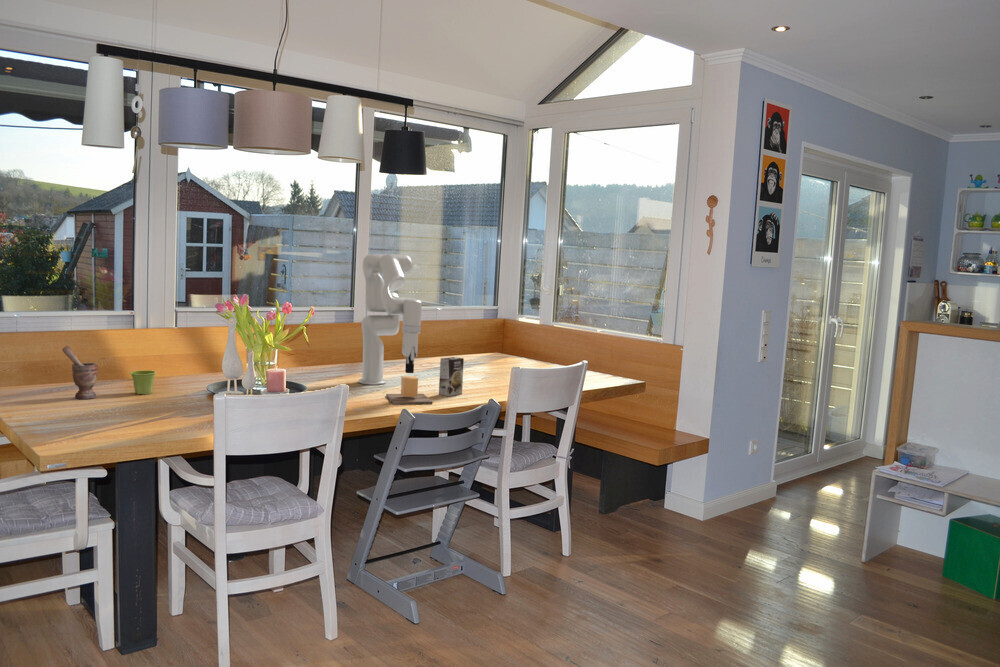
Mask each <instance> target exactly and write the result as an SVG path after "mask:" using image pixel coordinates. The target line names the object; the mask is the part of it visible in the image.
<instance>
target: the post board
mask: <svg viewBox="0 0 1000 667" xmlns="http://www.w3.org/2000/svg"><path fill="white" fill-rule="evenodd" d="M385 396H386V398H387V399H388V400H389V401H390V403H391V404H392V405H393V406H398V405H399V406H400V405H403V406H405V405H406V406H407V405H409V406H410V405H411V406H412V405H413V406H414V405H433V401H432V400H431V399H430V398H429V397H428V396H427V395H425V394H424V393H417V397H403V396H402V395H401V393H386V394H385Z"/></svg>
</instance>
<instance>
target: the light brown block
mask: <svg viewBox="0 0 1000 667" xmlns="http://www.w3.org/2000/svg"><path fill="white" fill-rule="evenodd" d="M418 382H419V378H418V377H417V376H415V375H413V376H412V375H409V376H408V375H407V376H406V375H405V376H401V384H400V385H401V386H400V394H401V395H402V396H403V397H417V394H418V392H419V391H418V390H419V389H418V388H419V383H418Z"/></svg>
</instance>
